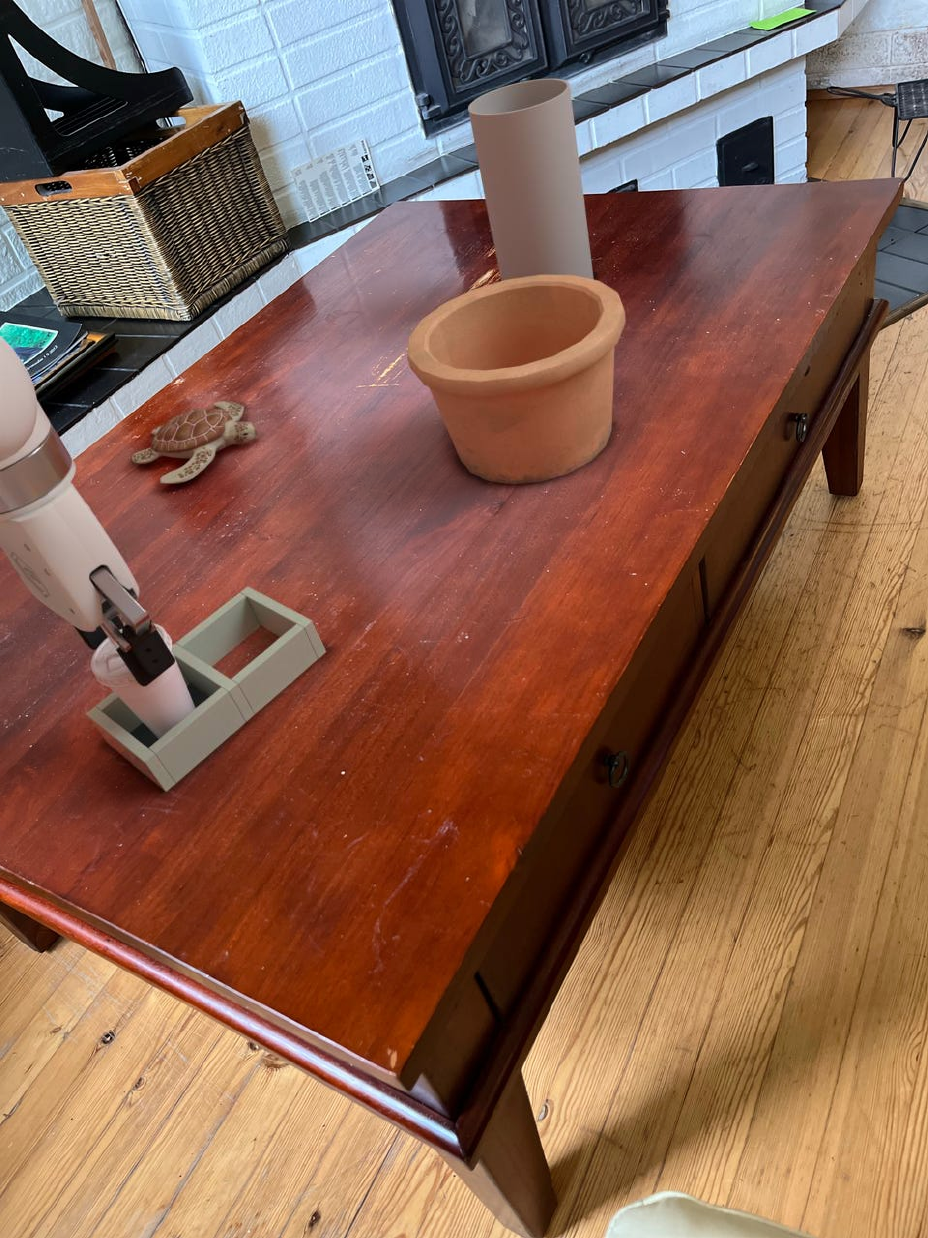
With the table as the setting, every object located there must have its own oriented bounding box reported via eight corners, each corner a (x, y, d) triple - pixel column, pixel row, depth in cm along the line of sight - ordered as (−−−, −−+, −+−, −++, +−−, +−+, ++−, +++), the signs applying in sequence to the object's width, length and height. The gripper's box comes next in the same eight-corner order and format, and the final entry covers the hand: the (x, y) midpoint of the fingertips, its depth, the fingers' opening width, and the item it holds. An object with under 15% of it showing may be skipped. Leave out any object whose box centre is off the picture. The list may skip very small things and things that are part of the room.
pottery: (491, 386, 112) (467, 272, 102) (665, 399, 101) (656, 274, 92) (402, 491, 99) (365, 372, 90) (590, 518, 89) (570, 387, 79)
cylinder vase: (487, 301, 130) (448, 110, 113) (554, 265, 134) (525, 75, 117) (543, 322, 121) (510, 118, 104) (613, 283, 125) (591, 81, 108)
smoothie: (129, 750, 78) (44, 633, 68) (172, 695, 82) (97, 577, 72) (188, 764, 75) (108, 644, 66) (229, 705, 79) (159, 585, 70)
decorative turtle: (235, 488, 107) (218, 452, 104) (115, 495, 112) (95, 461, 109) (286, 405, 120) (272, 370, 116) (176, 415, 124) (160, 382, 121)
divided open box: (170, 798, 74) (144, 762, 71) (111, 749, 80) (85, 713, 76) (329, 658, 82) (312, 620, 79) (265, 622, 88) (247, 585, 85)
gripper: (-90, 469, 64) (41, 646, 76) (19, 540, 54) (152, 732, 66) (4, 415, 67) (116, 592, 79) (123, 471, 57) (232, 665, 69)
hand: (131, 654), depth 72 cm, fingers open, 7 cm apart
